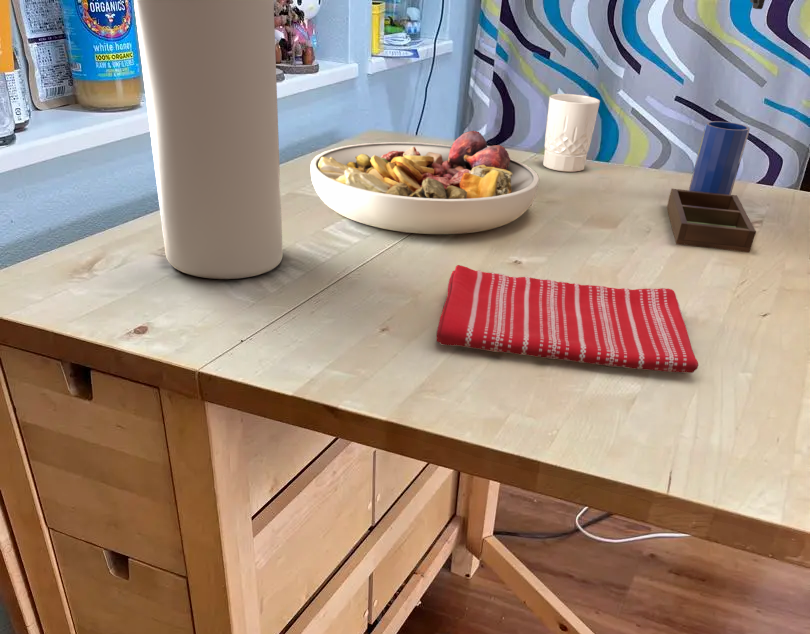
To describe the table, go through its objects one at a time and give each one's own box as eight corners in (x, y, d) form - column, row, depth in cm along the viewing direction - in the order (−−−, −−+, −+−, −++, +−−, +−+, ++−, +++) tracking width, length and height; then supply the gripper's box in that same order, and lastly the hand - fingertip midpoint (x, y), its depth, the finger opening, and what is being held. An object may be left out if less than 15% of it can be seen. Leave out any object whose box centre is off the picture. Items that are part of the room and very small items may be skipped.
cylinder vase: (158, 246, 91) (123, -23, 76) (267, 239, 95) (254, -18, 80) (177, 286, 82) (141, -11, 67) (296, 276, 86) (288, -6, 71)
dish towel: (451, 284, 87) (454, 260, 85) (675, 310, 84) (682, 285, 83) (429, 350, 73) (431, 322, 71) (694, 382, 71) (703, 354, 69)
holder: (731, 214, 115) (737, 195, 113) (749, 252, 101) (756, 231, 100) (666, 207, 116) (671, 188, 114) (676, 244, 102) (681, 223, 101)
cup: (725, 196, 123) (746, 123, 117) (730, 206, 118) (752, 131, 112) (685, 191, 124) (704, 119, 118) (689, 202, 119) (708, 127, 113)
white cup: (553, 158, 136) (563, 92, 130) (595, 167, 133) (608, 99, 127) (530, 166, 131) (540, 97, 125) (574, 175, 128) (586, 105, 122)
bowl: (467, 260, 93) (474, 188, 88) (264, 208, 105) (261, 142, 100) (567, 205, 114) (578, 145, 109) (389, 167, 125) (391, 111, 120)
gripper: (787, -163, 90) (742, 10, 100) (915, -155, 90) (857, 18, 100) (767, -158, 96) (727, 5, 106) (887, -150, 96) (835, 12, 106)
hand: (790, 11), depth 103 cm, fingers open, 8 cm apart
